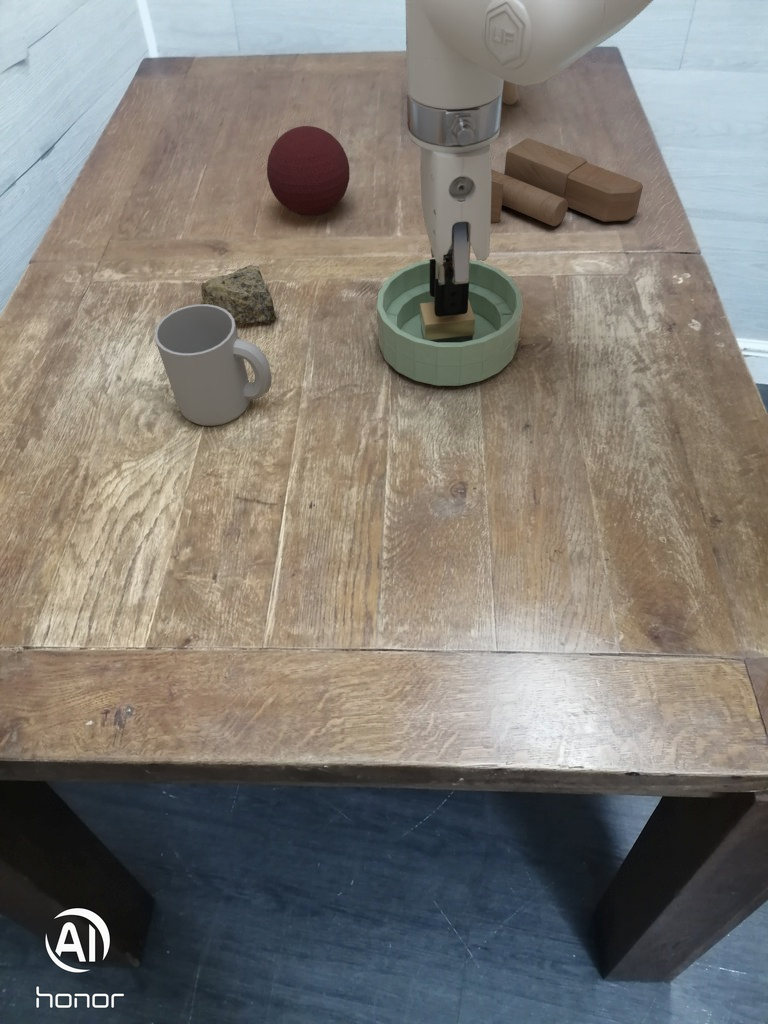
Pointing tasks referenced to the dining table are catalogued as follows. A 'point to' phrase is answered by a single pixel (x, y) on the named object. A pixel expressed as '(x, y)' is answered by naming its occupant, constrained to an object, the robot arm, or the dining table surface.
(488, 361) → the bowl
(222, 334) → the cup
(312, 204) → the decorative ball
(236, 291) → the rock
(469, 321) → the wooden stamp
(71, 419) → the dining table surface
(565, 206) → the wooden block set
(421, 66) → the robot arm
